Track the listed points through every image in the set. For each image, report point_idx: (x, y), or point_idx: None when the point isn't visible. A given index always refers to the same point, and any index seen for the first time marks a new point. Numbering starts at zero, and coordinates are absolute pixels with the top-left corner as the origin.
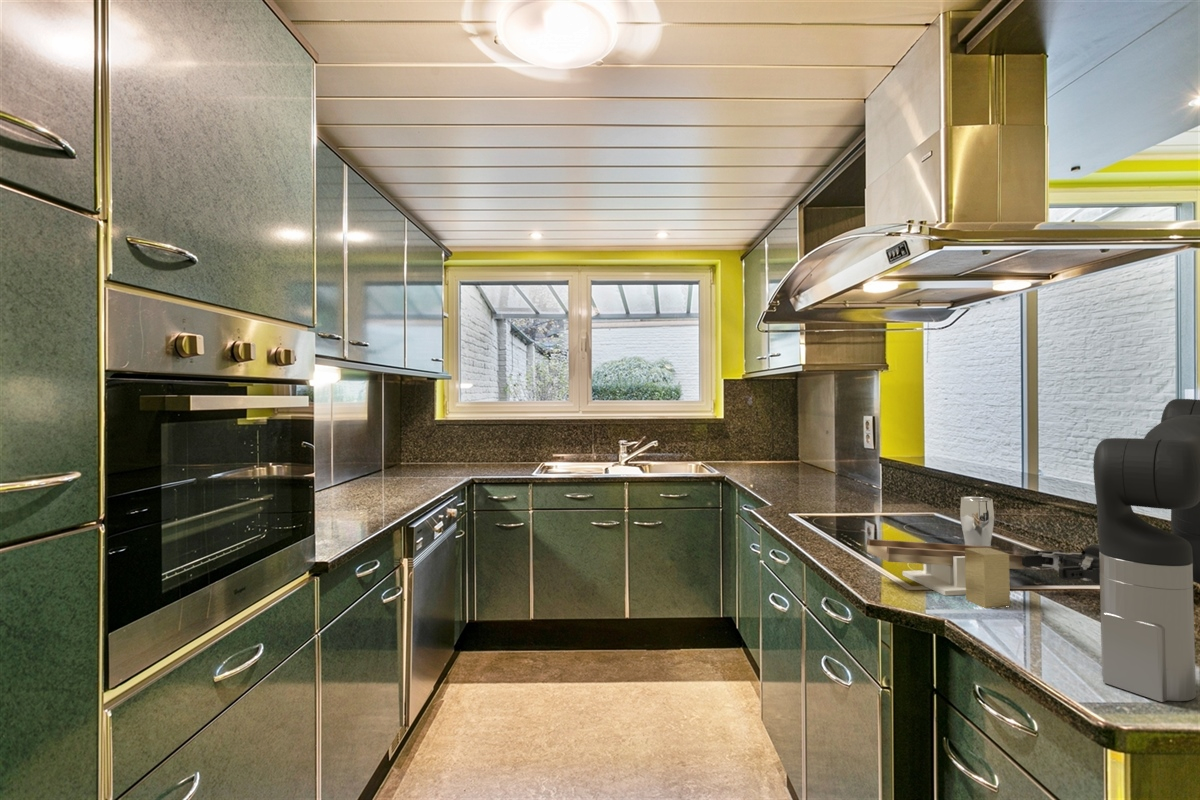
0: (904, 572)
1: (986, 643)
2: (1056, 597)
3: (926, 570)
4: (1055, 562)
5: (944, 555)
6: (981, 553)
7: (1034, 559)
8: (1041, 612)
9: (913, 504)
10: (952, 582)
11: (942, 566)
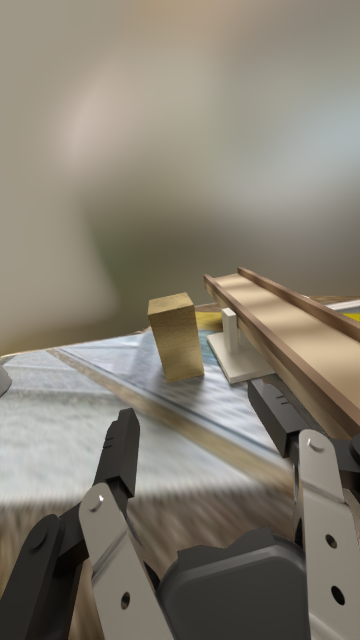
0: None
1: (95, 341)
2: (247, 529)
3: None
4: (297, 512)
5: (226, 302)
6: (156, 299)
7: (265, 412)
8: (142, 413)
9: None
10: (241, 343)
11: None
